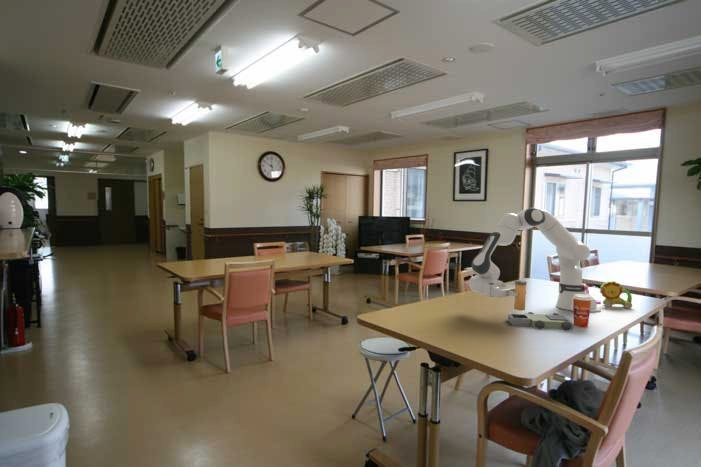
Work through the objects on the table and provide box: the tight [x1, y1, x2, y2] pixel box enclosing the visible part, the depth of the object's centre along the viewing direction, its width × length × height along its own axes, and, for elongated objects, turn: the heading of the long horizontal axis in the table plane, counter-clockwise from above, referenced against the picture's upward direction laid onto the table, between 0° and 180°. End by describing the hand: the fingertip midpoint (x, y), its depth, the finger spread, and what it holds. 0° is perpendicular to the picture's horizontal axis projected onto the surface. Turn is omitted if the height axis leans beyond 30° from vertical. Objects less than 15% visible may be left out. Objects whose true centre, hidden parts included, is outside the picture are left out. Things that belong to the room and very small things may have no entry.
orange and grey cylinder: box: [513, 280, 527, 311], centre depth 193 cm, size 5×5×14 cm
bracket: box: [585, 289, 602, 305], centre depth 241 cm, size 13×6×7 cm, turn 21°
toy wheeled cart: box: [524, 311, 574, 331], centre depth 192 cm, size 18×16×4 cm
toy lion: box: [599, 280, 633, 309], centre depth 229 cm, size 16×5×15 cm, turn 72°
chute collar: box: [507, 313, 532, 327], centre depth 194 cm, size 9×9×4 cm
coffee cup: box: [572, 294, 592, 328], centre depth 191 cm, size 8×8×15 cm
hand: (521, 293), depth 193 cm, fingers closed on orange and grey cylinder, 5 cm apart
